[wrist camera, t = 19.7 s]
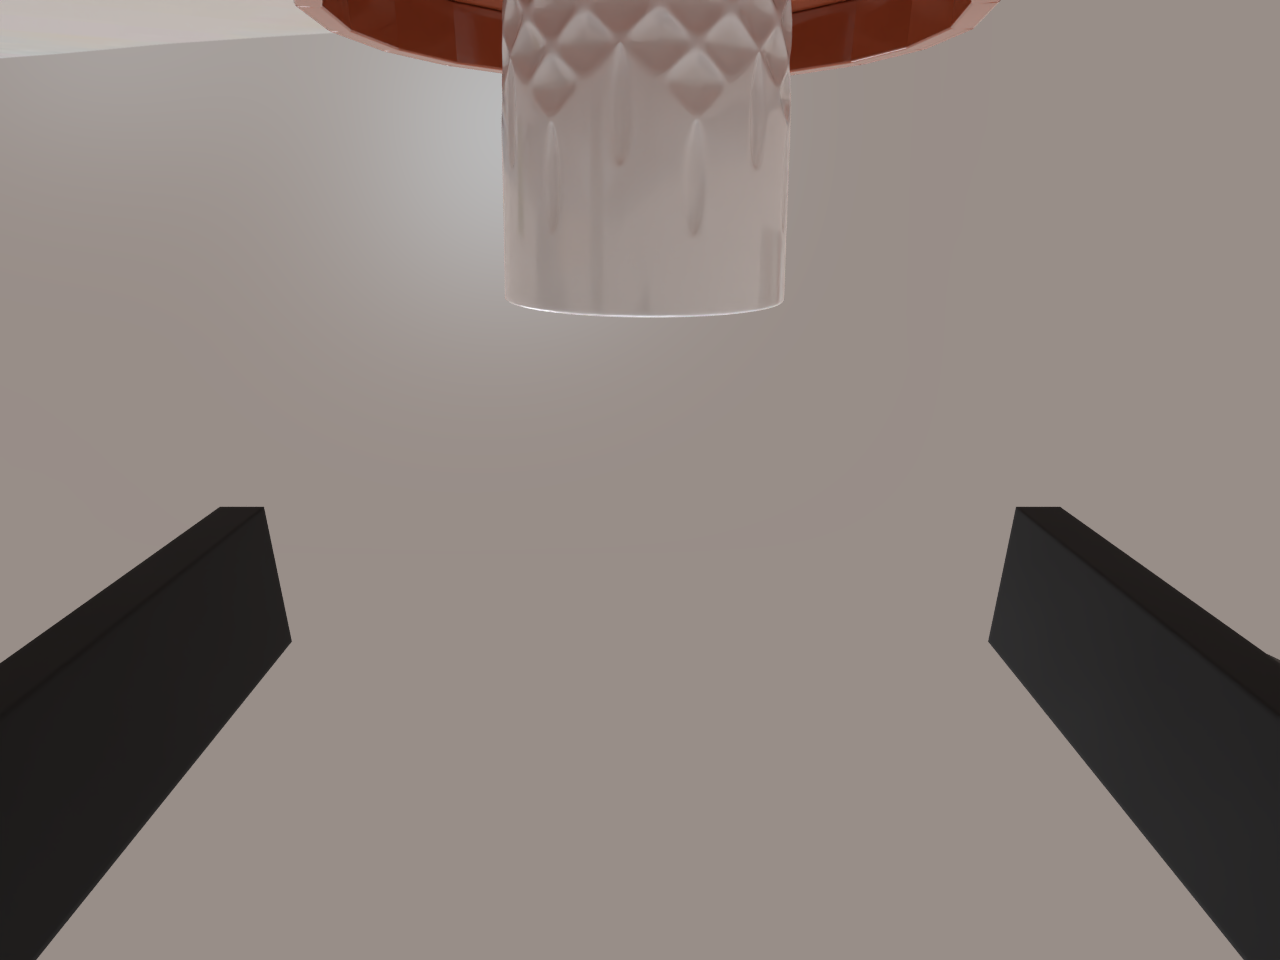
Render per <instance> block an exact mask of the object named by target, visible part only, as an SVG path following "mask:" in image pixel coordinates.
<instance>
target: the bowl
mask: <svg viewBox="0 0 1280 960" xmlns="http://www.w3.org/2000/svg"><path fill="white" fill-rule="evenodd" d="M293 1H294V3H295V5H296V6H297V7H298V8H299V9H301V10H302V11H303V12H305V13H306V14H307V15H309V16H310V17H311V18H313V19H314V20H315V21H317V22H318V23H319V24H321V25H322V26H323V27H325V28H326V29H327V30H329V31H331V32H333V33H336V34H339V35H341V36H344V37H347V38H349V39H352V40H355V41H358V42H360V43H363V44H366V45H368V46H371V47H374V48H376V49H379V50H382V51H385V52H389V53H393V54H398V55H402V56H407V57H411V58H415V59H420V60H424V61H429V62H433V63H438V64H442V65H448V66H454V67H460V68H468V69H475V70H482V71H489V72H496V73H502V4H503V0H293ZM999 2H1000V0H791V6H792V46H791V54H790V75H795V74H803V73H810V72H817V71H824V70H830V69H837V68H844V67H850V66H857V65H861V64H867V63H871V62H875V61H880V60H883V59H888V58H892V57H896V56H900V55H904V54H908V53H912V52H916V51H920V50H923V49H927V48H929V47H931V46H934V45H936V44H939V43H941V42H943V41H946V40H948V39H950V38H953V37H955V36H957V35H960V34H962V33H964V32H967V31H969V30H972V29H973V28H974V27H976V26H977V24H978V23H979V22H980V21H981V20H982V19H983V18H984V17H985V16H986V15H987V14H988V13H989V12H990V11H991V10H992V9H993V8H994V7H995V6H996V5H997V4H998V3H999Z"/></svg>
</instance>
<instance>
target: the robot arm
mask: <svg viewBox="0 0 1280 960" xmlns="http://www.w3.org/2000/svg"><path fill="white" fill-rule="evenodd" d="M291 642H292V641H291V636H290V631H289V626H288V621H287V616H286V612H285V607H284V602H283V597H282V592H281V587H280V583H279V578H278V573H277V568H276V563H275V558H274V554H273V549H272V544H271V539H270V534H269V529H268V525H267V520H266V515H265V510H264V507H219V508H218V509H216V510H215V511H214V512H212V513H211V514H209V515H208V516H207V517H205V518H204V519H202V520H201V521H199V522H198V523H197V524H195V525H194V526H192V527H191V528H190V529H188V530H187V531H185V532H184V533H183V534H181V535H180V536H178V537H177V538H176V539H174V540H173V541H171V542H170V543H169V544H167V545H166V546H164V547H163V548H162V549H160V550H159V551H157V552H156V553H155V554H153V555H152V556H150V557H149V558H148V559H146V560H145V561H143V562H142V563H141V564H139V565H138V566H136V567H135V568H134V569H132V570H131V571H129V572H128V573H126V574H125V575H124V576H122V577H121V578H119V579H118V580H117V581H115V582H114V583H112V584H111V585H110V586H108V587H107V588H105V589H104V590H103V591H101V592H100V593H98V594H97V595H96V596H94V597H93V598H91V599H90V600H89V601H87V602H86V603H84V604H83V605H81V606H80V607H79V608H77V609H76V610H74V611H73V612H72V613H70V614H69V615H68V616H66V617H65V618H63V619H62V620H60V621H59V622H58V623H56V624H55V625H53V626H52V627H51V628H49V629H48V630H46V631H45V632H44V633H42V634H41V635H39V636H38V637H37V638H35V639H34V640H32V641H31V642H30V643H28V644H27V645H25V646H24V647H23V648H21V649H20V650H18V651H17V652H15V653H14V654H13V655H11V656H10V657H8V658H7V659H6V660H4V661H3V662H1V663H0V960H36V959H37V958H38V957H39V955H40V954H41V953H42V952H43V951H44V949H45V948H46V947H47V946H48V944H49V943H50V942H51V941H52V939H53V938H54V937H55V936H56V934H57V933H58V932H59V931H60V929H61V928H62V927H63V926H64V924H65V923H66V922H67V921H68V919H69V918H70V917H71V916H72V914H73V913H74V912H75V911H76V910H77V908H78V907H79V906H80V904H81V903H82V902H83V901H84V900H85V898H86V897H87V896H88V894H89V893H90V892H91V891H92V890H93V888H94V887H95V886H96V885H97V883H98V882H99V881H100V879H101V878H102V877H103V876H104V875H105V873H106V872H107V871H108V870H109V868H110V867H111V866H112V865H113V863H114V862H115V861H116V860H117V858H118V857H119V856H120V855H121V853H122V852H123V851H124V850H125V848H126V847H127V846H128V845H129V843H130V842H131V841H132V840H133V838H134V837H135V836H136V835H137V833H138V832H139V831H140V830H141V829H142V827H143V826H144V825H145V824H146V822H147V821H148V820H149V819H150V817H151V816H152V815H153V814H154V812H155V811H156V810H157V809H158V807H159V806H160V805H161V804H162V802H163V801H164V800H165V799H166V797H167V796H168V795H169V794H170V792H171V791H172V790H173V789H174V787H175V786H176V785H177V784H178V782H179V781H180V780H181V779H182V777H183V776H184V775H185V774H186V773H187V771H188V770H189V769H190V768H191V766H192V765H193V764H194V763H195V761H196V760H197V759H198V758H199V756H200V755H201V754H202V753H203V751H204V750H205V749H206V748H207V746H208V745H209V744H210V743H211V741H212V740H213V739H214V738H215V736H216V735H217V734H218V733H219V731H220V730H221V729H222V728H223V726H224V725H225V724H226V723H227V721H228V720H229V719H230V718H231V716H232V715H233V714H234V713H235V711H236V710H237V709H238V708H239V707H240V705H241V704H242V703H243V701H244V700H245V699H246V698H247V697H248V695H249V694H250V693H251V692H252V690H253V689H254V688H255V687H256V685H257V684H258V683H259V682H260V680H261V679H262V678H263V677H264V675H265V674H266V673H267V672H268V670H269V669H270V668H271V667H272V665H273V664H274V663H275V662H276V660H277V659H278V658H279V657H280V655H281V654H282V653H283V652H284V650H285V649H286V648H287V647H288V645H289V644H290V643H291ZM988 642H989V643H990V644H991V646H992V647H993V648H994V649H995V650H996V652H997V653H998V654H999V655H1000V657H1001V658H1002V659H1003V660H1004V662H1005V663H1006V664H1007V665H1008V667H1009V668H1010V669H1011V670H1012V672H1013V673H1014V674H1015V675H1016V677H1017V678H1018V679H1019V680H1020V682H1021V683H1022V684H1023V685H1024V687H1025V688H1026V689H1027V690H1028V692H1029V693H1030V694H1031V695H1032V697H1033V698H1034V699H1035V700H1036V702H1037V703H1038V704H1039V705H1040V707H1041V708H1042V709H1043V710H1044V712H1045V713H1046V714H1047V715H1048V716H1049V718H1050V719H1051V720H1052V721H1053V723H1054V724H1055V725H1056V726H1057V728H1058V729H1059V730H1060V731H1061V733H1062V734H1063V735H1064V736H1065V738H1066V739H1067V740H1068V741H1069V743H1070V744H1071V745H1072V746H1073V748H1074V749H1075V750H1076V751H1077V753H1078V754H1079V755H1080V756H1081V758H1082V759H1083V760H1084V761H1085V763H1086V764H1087V765H1088V766H1089V767H1090V769H1091V770H1092V771H1093V773H1094V774H1095V775H1096V776H1097V777H1098V779H1099V780H1100V781H1101V782H1102V784H1103V785H1104V786H1105V787H1106V789H1107V790H1108V791H1109V792H1110V794H1111V795H1112V796H1113V797H1114V799H1115V800H1116V801H1117V802H1118V804H1119V805H1120V806H1121V807H1122V809H1123V810H1124V811H1125V812H1126V814H1127V815H1128V816H1129V817H1130V819H1131V820H1132V821H1133V822H1134V824H1135V825H1136V826H1137V827H1138V828H1139V830H1140V831H1141V832H1142V834H1143V835H1144V836H1145V837H1146V839H1147V840H1148V841H1149V842H1150V843H1151V845H1152V846H1153V847H1154V848H1155V850H1156V851H1157V852H1158V853H1159V855H1160V856H1161V857H1162V858H1163V860H1164V861H1165V862H1166V863H1167V865H1168V866H1169V867H1170V868H1171V870H1172V871H1173V872H1174V873H1175V875H1176V876H1177V877H1178V878H1179V880H1180V881H1181V882H1182V883H1183V885H1184V886H1185V887H1186V888H1187V890H1188V891H1189V892H1190V893H1191V895H1192V896H1193V897H1194V898H1195V900H1196V901H1197V902H1198V903H1199V905H1200V906H1201V907H1202V908H1203V910H1204V911H1205V912H1206V913H1207V914H1208V916H1209V917H1210V918H1211V919H1212V921H1213V922H1214V923H1215V924H1216V926H1217V927H1218V928H1219V929H1220V931H1221V932H1222V933H1223V934H1224V936H1225V937H1226V938H1227V939H1228V941H1229V942H1230V943H1231V944H1232V946H1233V947H1234V948H1235V949H1236V951H1237V952H1238V953H1239V954H1240V956H1241V957H1242V958H1243V959H1244V960H1280V660H1278V659H1276V658H1274V657H1272V656H1270V655H1268V654H1266V653H1264V652H1263V651H1262V650H1260V649H1259V648H1257V647H1256V646H1255V645H1253V644H1252V643H1250V642H1249V641H1248V640H1246V639H1245V638H1243V637H1242V636H1241V635H1239V634H1238V633H1236V632H1235V631H1234V630H1232V629H1231V628H1229V627H1228V626H1227V625H1225V624H1224V623H1222V622H1221V621H1220V620H1218V619H1217V618H1215V617H1214V616H1213V615H1211V614H1210V613H1208V612H1207V611H1206V610H1204V609H1203V608H1201V607H1200V606H1198V605H1197V604H1196V603H1194V602H1193V601H1191V600H1190V599H1189V598H1187V597H1186V596H1184V595H1183V594H1182V593H1180V592H1179V591H1177V590H1176V589H1175V588H1173V587H1172V586H1170V585H1169V584H1168V583H1166V582H1165V581H1163V580H1162V579H1161V578H1159V577H1158V576H1156V575H1155V574H1154V573H1152V572H1151V571H1149V570H1148V569H1147V568H1145V567H1144V566H1142V565H1141V564H1140V563H1138V562H1137V561H1135V560H1134V559H1132V558H1131V557H1130V556H1128V555H1127V554H1125V553H1124V552H1123V551H1121V550H1120V549H1118V548H1117V547H1116V546H1114V545H1113V544H1111V543H1110V542H1109V541H1107V540H1106V539H1104V538H1103V537H1102V536H1100V535H1099V534H1097V533H1096V532H1095V531H1093V530H1092V529H1090V528H1089V527H1088V526H1086V525H1085V524H1083V523H1082V522H1081V521H1079V520H1078V519H1076V518H1075V517H1073V516H1072V515H1071V514H1069V513H1068V512H1066V511H1065V510H1064V509H1062V508H1061V507H1016V510H1015V515H1014V520H1013V525H1012V529H1011V534H1010V539H1009V544H1008V549H1007V554H1006V558H1005V563H1004V568H1003V573H1002V578H1001V583H1000V587H999V592H998V597H997V602H996V607H995V611H994V616H993V621H992V626H991V631H990V636H989V640H988Z"/></svg>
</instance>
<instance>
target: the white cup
mask: <svg viewBox="0 0 1280 960" xmlns="http://www.w3.org/2000/svg"><path fill="white" fill-rule="evenodd" d="M791 46H792V6H791V0H503V4H502V164H503V209H504V260H505V299H506V300H507V301H508V302H510V303H512V304H514V305H517V306H521V307H525V308H529V309H534V310H540V311H547V312H556V313H565V314H576V315H590V316H610V317H694V316H713V315H727V314H737V313H746V312H752V311H759V310H764V309H768V308H772V307H775V306H777V305H779V304H781V303H782V302H783V301H784V290H785V259H786V229H787V203H788V177H789V151H790V124H791V81H790V54H791Z"/></svg>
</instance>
